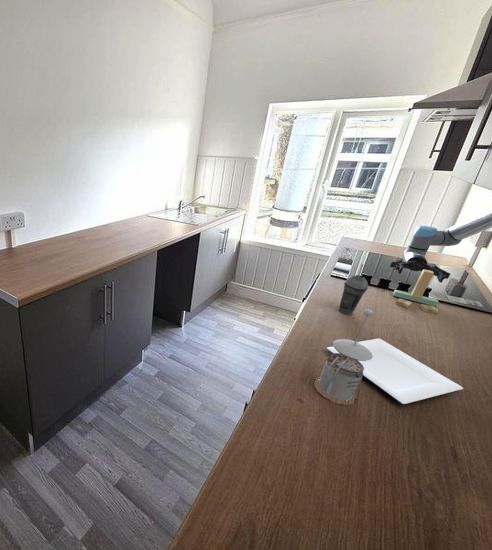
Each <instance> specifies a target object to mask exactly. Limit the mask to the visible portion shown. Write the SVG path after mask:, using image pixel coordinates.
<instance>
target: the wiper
mask: <svg viewBox="0 0 492 550" xmlns="http://www.w3.org/2000/svg"><path fill="white" fill-rule="evenodd" d="M420 272H421V273H420V274H419V277H418V278H417V281H416V282H415V285H414V287H413V289H412V291H411V292H408V291H403V290H398V289H394V291H393V293H392V297H395V298H398V299H403V300H406V301H410V302H415V303H418V304H419V303H420V304H425V305H431V306H434V307H435V308H436V307H437V306H438V305H439V303H440V302H439V299H436V298H432V297H427V296H424V293H425V291H426V290H427V288H428V285H429V283H430V282H431V280H432V278H433V276H434V275H433V274H434V273H433V271H430V270H425V269H423V270H422V271H420Z"/></svg>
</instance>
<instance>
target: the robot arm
mask: <svg viewBox="0 0 492 550" xmlns="http://www.w3.org/2000/svg"><path fill="white" fill-rule="evenodd" d="M491 228H492V208H490V209H487V210H485V211H483V212H480V213H479V214H476V215H474V216H472V217H470V218H468V219H465V220H463V221H461V222H459V223H457V224H455V225H453V226H450V227H448V228H446V229H443V230H438V228H437V227H433V226H429V225H419V226H417V227H416V229H415V231H414V232H413V234H412V237H411V238H410V241H409V244H408V246H407V248H406V249H405V250H404V252H403V254H402V256H403V257H402V258H399V259H397V260H392V261H391V262H390V265H389V267H390V268H393V270H394V271H397V274H399V275H401V274H402V273H403V271H404V269H406V270H409V271H412V272H422V270H423V269H425V270H430V271H433V273H434V274H433V276H435V277H436V279H437V281H438V282H439V283H443V281H444V280H448V279H449V278H450V276H451V272H448V271H446V270H445V269H442V268H440V267H439V266H437V265H433V266H431V265H430V264H428V260H427V258H426V254H427V252H428V250H429V248H430V247H431V246H432V247H433V246H434V247H435V246H437V247H452V246H457V245H459V244H460V243H461V242H462V241H463V240H464V239H468V238H470V237H473V236H475V235H477V234H480V233H482V232H484V231H487V230H489V229H491Z"/></svg>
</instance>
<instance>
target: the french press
mask: <svg viewBox="0 0 492 550" xmlns="http://www.w3.org/2000/svg"><path fill="white" fill-rule="evenodd" d="M362 314H363V315H364V316H365V319H364V321H363V323H362V326H361V328H360V330H359V332H358V335H357V337H356V339H355V341H354V340H352V339H343V338H342V339H340V338H339V339H335V340H333V342H332V345H333V346H334V348H335V349H336V350H337V351H338V352H339V353H334V354H333V353H331V354H330V355H329V357H328V358H327V359H326V361H325V364H324V365H323V366H324V367H323V369H322V371H321V374H320V376H319V378H320V379H318V380H319V386H320V387H321V389H322V390H323V391H325V392H326V393H327V394H329V395H330V396H332V397H334V398H338V399H340V400H346V401H348V400H350V399H352V397H353V395H354V394H355V393H356V391H357V389H358V386H360V381H362V379H363V377H364V376H363V370H364V367H363V365H362V364H361V363H360V362H359V361H367V360H371V359H372V357H373V356H372V353H371V352H370V351H369V350H368V349H367V348H366V347H364V346H363V345H361V344H359V343H358V342H359V341H358V339H359V337H360V335H361V332H362V330H363V328H364V326H365V323H366V322H367V319H368V317H373V316H374V311H373V310H372V309H364V310H363V311H362ZM333 346H332V347H333Z"/></svg>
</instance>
